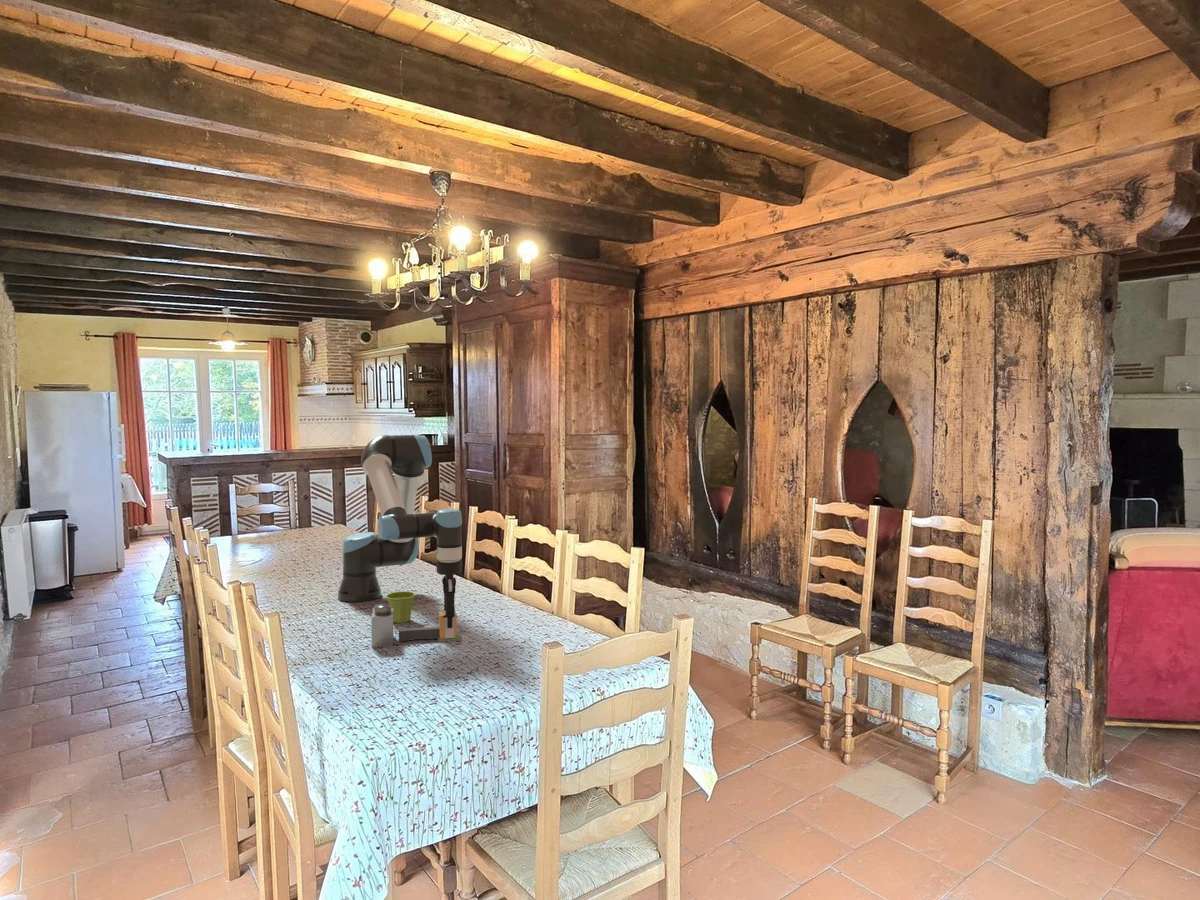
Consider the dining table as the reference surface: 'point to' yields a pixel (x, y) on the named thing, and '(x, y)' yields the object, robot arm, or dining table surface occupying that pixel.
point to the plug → (427, 630)
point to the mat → (451, 638)
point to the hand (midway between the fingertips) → (449, 634)
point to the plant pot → (401, 605)
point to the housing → (382, 625)
